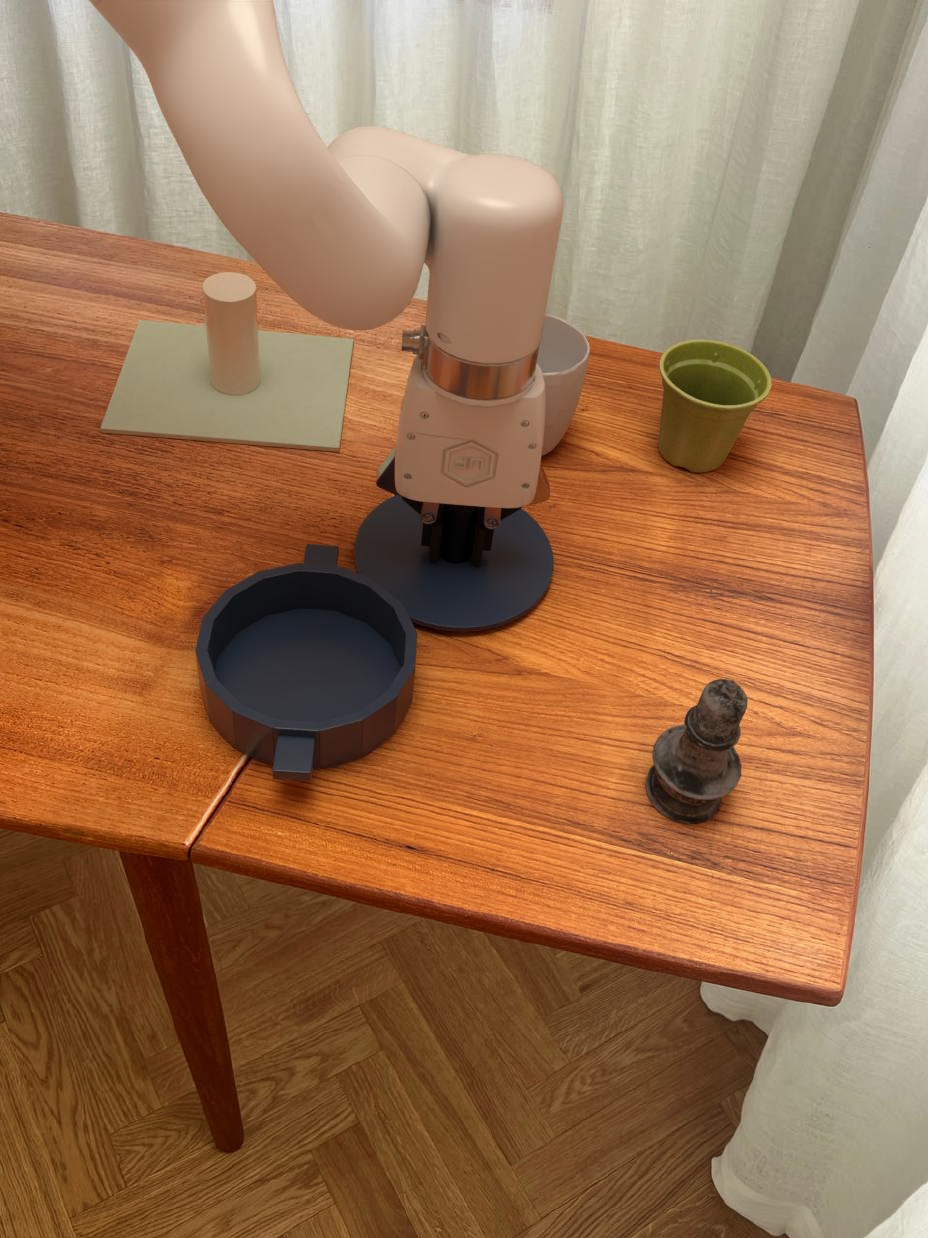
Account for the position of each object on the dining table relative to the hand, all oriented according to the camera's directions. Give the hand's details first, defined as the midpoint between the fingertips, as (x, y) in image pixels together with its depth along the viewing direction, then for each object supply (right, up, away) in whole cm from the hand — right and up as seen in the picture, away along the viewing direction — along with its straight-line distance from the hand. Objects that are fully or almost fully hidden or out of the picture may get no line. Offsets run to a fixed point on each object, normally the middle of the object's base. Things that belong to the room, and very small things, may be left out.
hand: (455, 550), depth 86 cm
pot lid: (0, 0, 0) cm, 1 cm away
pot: (-10, -10, -8) cm, 16 cm away
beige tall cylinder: (-20, +16, +13) cm, 28 cm away
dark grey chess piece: (+16, -17, -11) cm, 26 cm away
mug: (+4, +11, +13) cm, 18 cm away
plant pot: (+21, +9, +13) cm, 26 cm away
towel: (-20, +16, +13) cm, 28 cm away
